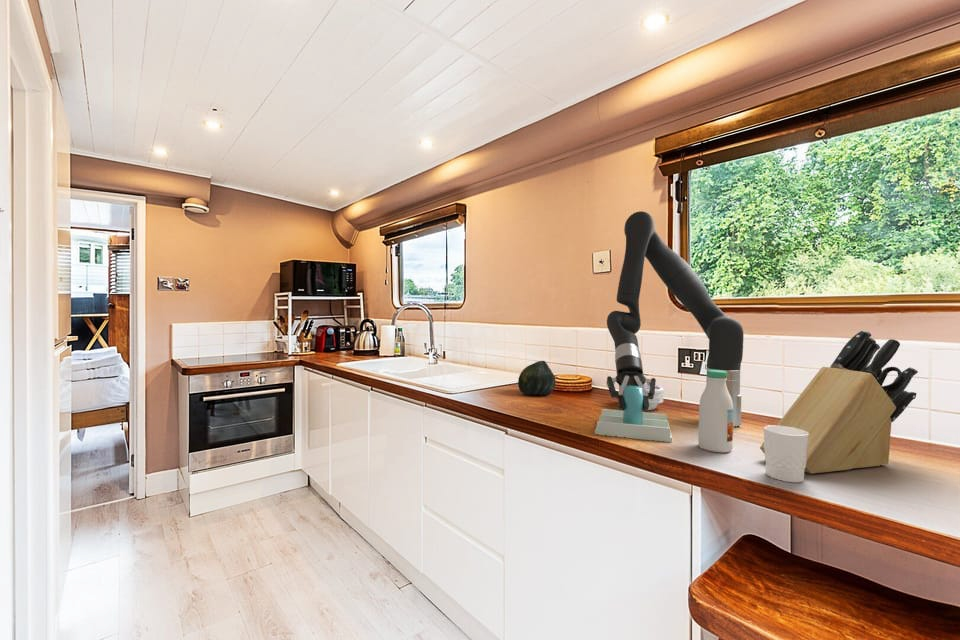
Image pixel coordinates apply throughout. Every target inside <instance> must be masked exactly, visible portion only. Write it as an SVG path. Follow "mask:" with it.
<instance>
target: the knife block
mask: <svg viewBox="0 0 960 640" xmlns="http://www.w3.org/2000/svg"><path fill="white" fill-rule="evenodd" d="M900 346H901V343H900V341H898V340H896V339H893V338H892V339H891V338H890V339H888V340H887V341H885V343H884V344H883V345H882V346H880V344H878V343H877V342H876V340H875V339H874V338H872V333H871V332H869V331H868V330H865V329H862V330H860V331H859V332H857V333H856V334H855V335H853V336H852V337H851V338H850V339H849V340H848V341H847V343H845V344H844V346H843V348H842V349H841V351H840V352H839V353H838V355H837V356H836V358H835V359H834V361H833V362H832V363H831V364H830V366H822V367H821V368H820V369H819V371H818V372H817V373H816V374H815V375H814V377H812V379H811V380H810V382H809V383H808V384H807V385H806V386H805V388H804V389H803V391H802V392H801V393H800V394H799V395H798V397H797V398H796V399H795V401H794V402H793V403H792V405H791V406H790V407H789V408H788V410H787V411H786V412H785V414H784V415H783V416H782V417H781V419H780V420H779V422H778V423H777V424H776V426H786V427H793V428H797V429H801V430H804V431H806V432H808V433H809V438H808V450H807V461H806V468H805V471H804V472H805V473H807V474H812V475H813V474H819V473H821V474H822V473H829V472H836V471H837V472H838V471H839V472H840V471H845V470H846V471H848V470H852V469H859V468H870V467H871V468H872V467H881V466H880V465H882V466H887V465H889V462H890V461H889V460H890V459H889V458H890V448H891V447H890V446H891V434H892V433H891V432H892V423H894V422H895V421H896V419H898V417H900V416H901V414H902V413H903V412H904V411H905V410H906V409H907V407H908V406H909V405H910V404H911V402H912V401H913V400H915V399H916V397H917V392H914V391H907V390H905V389H906V388H907V387H908V386H909V384H910V382H911V381H912V378H913V377H914V376H915V375H917V374H918V373H919V371H918V370H917V369H916V368H913V367H911V366H910V367H908V368H906V369H904V370H901V369H899V367H896V366H888V367H886V368H884V367H885V366H887V364H888V363H889V362H890V361H891V360H892V358H893V357H894V356H895V355H896V353H897V351H898V349H899V348H900ZM876 352H877V353H876ZM883 368H884V369H883ZM893 371H894V372H896V373H897V376H896V378H894V380H893V382H891V383H890V384H887V385H883V384H884V383H885V380H886V379H887V376H888V374H889V373H890V372H893ZM759 449H760V450H761V451H762V453H763V454H764V455H765V450H764V442H763V443H761V445H760V447H759Z"/></svg>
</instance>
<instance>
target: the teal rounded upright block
mask: <svg viewBox="0 0 960 640" xmlns="http://www.w3.org/2000/svg"><path fill="white" fill-rule="evenodd" d="M624 405H625V408H624V411H623V424H634V425H643V412H644V411H643V387H641V386H633V385H627V386H624Z"/></svg>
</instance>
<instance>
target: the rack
mask: <svg viewBox="0 0 960 640" xmlns="http://www.w3.org/2000/svg"><path fill="white" fill-rule="evenodd" d="M669 422H670V421H669V420H668V414H666V413H656V412H655V413H653V412H644V411H643V425H634V424H623V411H622V410H621V409H620V410H619V409H609V408H608V409H607V408H606V409H605V408H602V409H601V414H599V419H598V420H597V421H596V428H595V429H594V435H596V434H599V435H598V436H605V435H607V437H615V436H617V438H624V437H626V439H635V440H646V441H653V440H654V441H655V442H656V441H657V442H663V441H664V442H666V443H673V436H672V431H671V428H670V427H671V426H670V425H669V424H670V423H669Z"/></svg>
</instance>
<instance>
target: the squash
mask: <svg viewBox="0 0 960 640" xmlns="http://www.w3.org/2000/svg"><path fill="white" fill-rule="evenodd" d="M517 383H518V384H517V385H518V389H519V391H520V392H521V393H522V395H523V394H524V395H526V396H533V395H535V396H537V395H539V396H542V397H547V396H549V395H550V394H552V392H553V391H554V390H555V387H556V377H555V374H554V373H553V371H552V370H551V368H550V366H549V365H548V363H547V362H546V361H545V360H539V361H535V362H534V363H532V364H529V365H527V366H526V367H524V369H523V370H522V371H521V372H520V373H519V375H518V381H517Z"/></svg>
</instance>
